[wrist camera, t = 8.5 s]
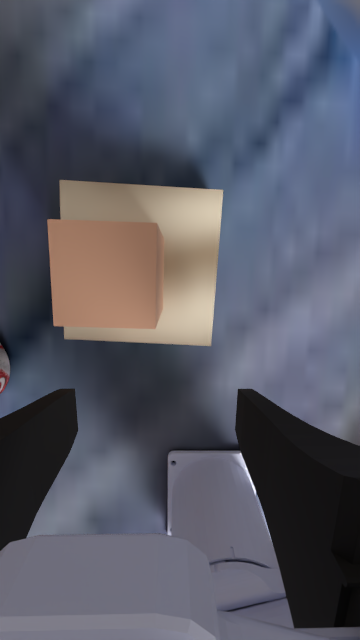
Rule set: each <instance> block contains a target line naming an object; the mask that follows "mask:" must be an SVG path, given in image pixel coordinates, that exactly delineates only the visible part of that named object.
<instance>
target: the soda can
mask: <svg viewBox="0 0 360 640" xmlns="http://www.w3.org/2000/svg"><path fill="white" fill-rule="evenodd" d="M9 376H10V363H9V359H8V356H7V354H6V352H5V350H4V348H3V347H2V345H1V344H0V394H1V392H2V391H3V390H4V389H5V387H6V385H7V383H8V380H9Z"/></svg>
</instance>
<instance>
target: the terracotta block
mask: <svg viewBox="0 0 360 640" xmlns="http://www.w3.org/2000/svg"><path fill="white" fill-rule="evenodd" d="M47 222H48V239H49V256H50V273H51V289H52V306H53V323H54V326H66V327H100V328H135V329H156V326H157V324H158V321H159V318H160V316H161V313H162V310H163V280H164V237H163V235H162V233H161V231H160V228H159V226H158V224H157V223H147V222H118V221H89V220H60V219H47Z"/></svg>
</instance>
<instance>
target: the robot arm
mask: <svg viewBox="0 0 360 640" xmlns="http://www.w3.org/2000/svg"><path fill="white" fill-rule="evenodd" d="M235 431H236V435H237V439H238V444H239V447H240V451H171V452H169V454H168V531H167V535H165V534H160V533H152V534H79V535H38V536H34V537H30V538H26V537H27V535H28V532H29V530H30V528H31V525H32V523H33V521H34V518H35V516H36V514H37V512H38V510H39V508H40V506H41V504H42V502H43V500H44V498H45V497H46V495H47V493H48V491H49V489H50V487H51V486H52V484H53V482H54V480H55V478H56V477H57V475H58V473H59V471H60V469H61V467H62V466H63V464H64V462H65V460H66V458H67V456H68V454H69V453H70V450H71V448H72V445H73V443H74V440H75V437H76V435H77V432H78V423H77V410H76V398H75V389H59V390H56V391H54V392H52V393H50V394H48V395H46V396H44V397H42V398H40V399H38V400H36V401H34V402H32V403H31V404H29V405H27V406H25V407H23V408H21V409H19V410H17V411H15V412H13V413H11V414H9V415H7V416H4V417H2V418H0V640H360V446H358V445H355V444H352V443H350V442H347V441H345V440H342V439H340V438H337V437H335V436H333V435H330V434H328V433H326V432H324V431H322V430H320V429H318V428H315V427H313V426H311V425H309V424H308V423H306V422H304V421H302V420H300V419H299V418H297V417H295V416H293V415H292V414H290V413H288V412H287V411H285V410H284V409H282V408H280V407H279V406H277V405H276V404H274V403H273V402H271V401H270V400H268V399H267V398H265V397H264V396H262V395H261V394H259V393H258V392H256V391H254V390H253V389H238V396H237V411H236V426H235ZM172 461H176V462H175V463H172ZM256 492H257V495H258V497H259V500H260V503H261V506H262V509H263V511H264V515H265V518H266V522H267V525H268V529H269V532H270V536H271V539H272V542H271V539H270V536H269V533H268V530H267V528H266V525H265V522H264V519H263V516H262V513H261V510H260V508H259V505H258V502H257V499H256ZM272 543H273V545H272ZM273 547H274V548H273Z"/></svg>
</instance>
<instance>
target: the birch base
mask: <svg viewBox="0 0 360 640" xmlns="http://www.w3.org/2000/svg"><path fill="white" fill-rule="evenodd" d="M59 183H60V215H61V220H89V221H118V222H147V223H157V224H158V226H159V228H160V231H161V233H162V235H163V237H164V280H163V310H162V313H161V316H160V318H159V321H158V324H157V326H156V329H135V328H100V327H66V326H64V339H75V340H96V341H117V342H138V343H159V344H180V345H201V346H211V338H212V325H213V313H214V300H215V287H216V275H217V262H218V250H219V237H220V224H221V212H222V199H223V190H215V189H199V188H183V187H167V186H150V185H134V184H118V183H102V182H86V181H70V180H59Z"/></svg>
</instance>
